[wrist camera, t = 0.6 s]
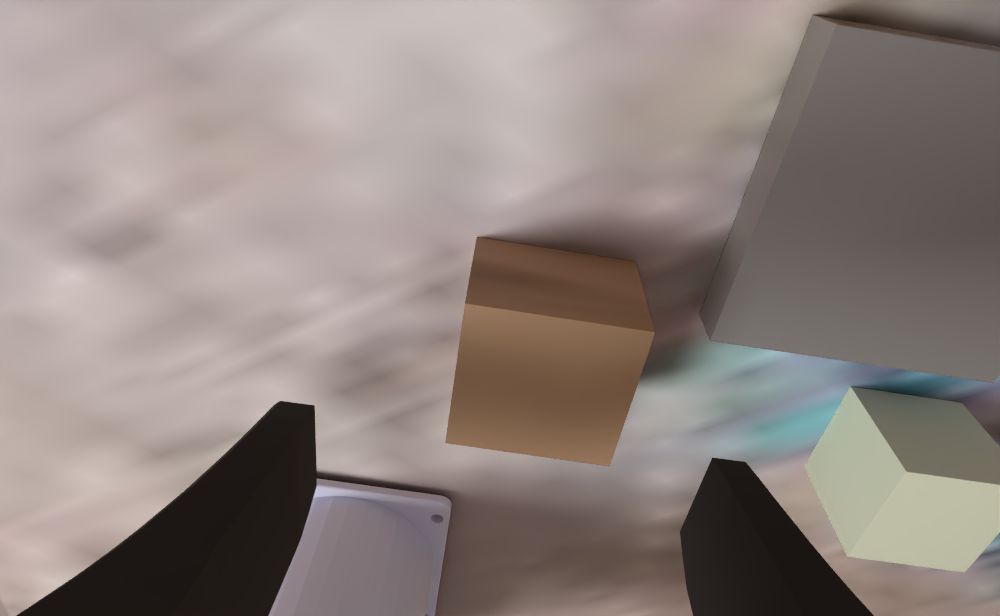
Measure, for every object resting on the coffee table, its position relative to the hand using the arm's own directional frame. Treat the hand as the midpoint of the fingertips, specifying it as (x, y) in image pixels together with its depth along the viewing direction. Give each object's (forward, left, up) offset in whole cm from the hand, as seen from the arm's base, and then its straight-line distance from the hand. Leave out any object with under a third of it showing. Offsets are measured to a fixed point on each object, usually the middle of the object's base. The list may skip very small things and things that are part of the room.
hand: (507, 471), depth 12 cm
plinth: (+3, -11, -9) cm, 15 cm away
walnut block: (-3, -1, -10) cm, 10 cm away
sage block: (-6, -14, -10) cm, 18 cm away
